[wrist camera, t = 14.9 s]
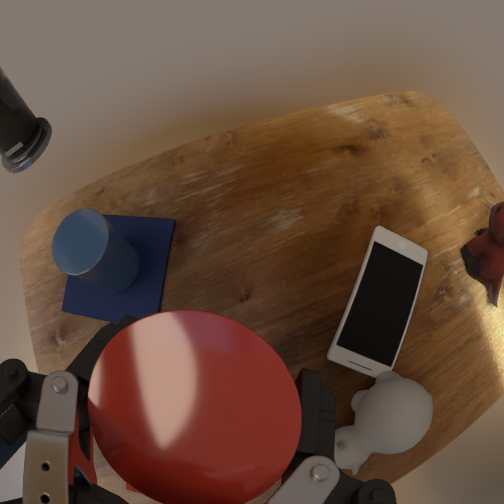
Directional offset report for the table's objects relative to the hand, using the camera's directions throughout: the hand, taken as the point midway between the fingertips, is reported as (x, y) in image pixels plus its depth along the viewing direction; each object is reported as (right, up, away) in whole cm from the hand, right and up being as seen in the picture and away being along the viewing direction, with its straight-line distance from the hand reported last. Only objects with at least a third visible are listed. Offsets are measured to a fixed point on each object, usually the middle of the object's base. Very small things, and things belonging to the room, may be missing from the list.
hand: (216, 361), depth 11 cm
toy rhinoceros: (+12, -13, +15) cm, 23 cm away
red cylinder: (0, -3, +4) cm, 5 cm away
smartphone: (+15, -1, +19) cm, 24 cm away
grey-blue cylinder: (-14, +3, +20) cm, 24 cm away
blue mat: (-14, +3, +20) cm, 25 cm away
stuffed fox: (+31, +2, +20) cm, 37 cm away
